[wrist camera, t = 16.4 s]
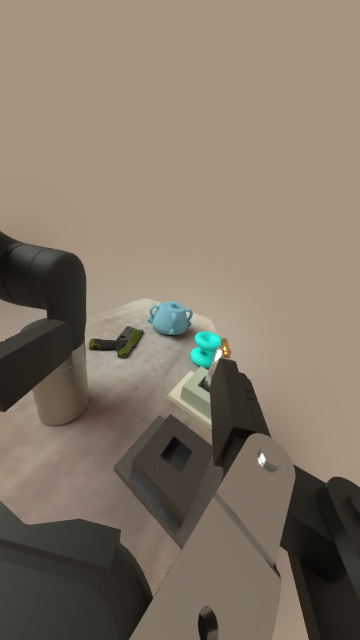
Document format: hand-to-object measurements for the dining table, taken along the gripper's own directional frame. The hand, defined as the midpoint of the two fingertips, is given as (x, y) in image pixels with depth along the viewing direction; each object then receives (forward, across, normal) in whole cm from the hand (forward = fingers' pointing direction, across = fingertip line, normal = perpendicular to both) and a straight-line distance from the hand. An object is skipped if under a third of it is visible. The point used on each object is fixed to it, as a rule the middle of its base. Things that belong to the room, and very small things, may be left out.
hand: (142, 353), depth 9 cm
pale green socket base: (+26, -12, +32) cm, 43 cm away
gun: (+45, +21, +33) cm, 59 cm away
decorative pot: (+61, +5, +32) cm, 69 cm away
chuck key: (+26, -12, +30) cm, 42 cm away
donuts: (+44, -12, +32) cm, 56 cm away
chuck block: (+9, -5, +32) cm, 34 cm away
